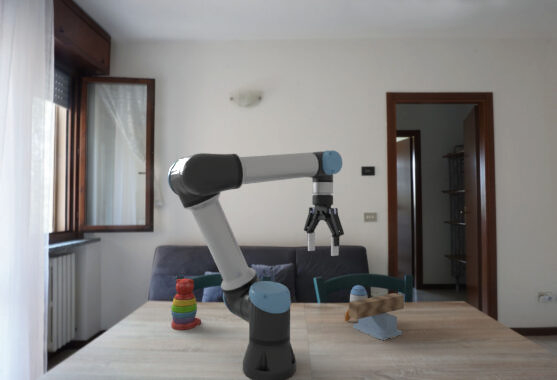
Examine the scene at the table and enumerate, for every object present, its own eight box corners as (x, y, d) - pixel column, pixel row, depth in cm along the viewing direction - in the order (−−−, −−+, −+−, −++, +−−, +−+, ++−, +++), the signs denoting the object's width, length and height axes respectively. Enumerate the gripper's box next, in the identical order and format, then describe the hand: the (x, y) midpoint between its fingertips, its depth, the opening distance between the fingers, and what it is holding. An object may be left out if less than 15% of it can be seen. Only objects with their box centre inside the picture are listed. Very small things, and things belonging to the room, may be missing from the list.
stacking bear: (202, 321, 140) (202, 276, 141) (193, 331, 130) (194, 281, 131) (175, 320, 141) (176, 275, 142) (165, 329, 131) (165, 281, 132)
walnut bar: (357, 319, 123) (357, 304, 123) (349, 316, 126) (349, 301, 126) (403, 308, 135) (403, 295, 136) (395, 305, 139) (395, 292, 139)
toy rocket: (376, 326, 139) (372, 290, 136) (350, 333, 137) (346, 296, 135) (365, 314, 149) (361, 280, 146) (340, 320, 147) (336, 285, 145)
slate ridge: (381, 340, 122) (381, 320, 122) (353, 328, 134) (353, 309, 134) (401, 335, 127) (401, 315, 127) (372, 323, 139) (372, 305, 139)
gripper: (354, 194, 122) (354, 256, 121) (310, 194, 143) (310, 248, 142) (337, 193, 118) (337, 258, 117) (295, 194, 139) (294, 249, 138)
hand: (322, 253), depth 130 cm, fingers open, 13 cm apart
